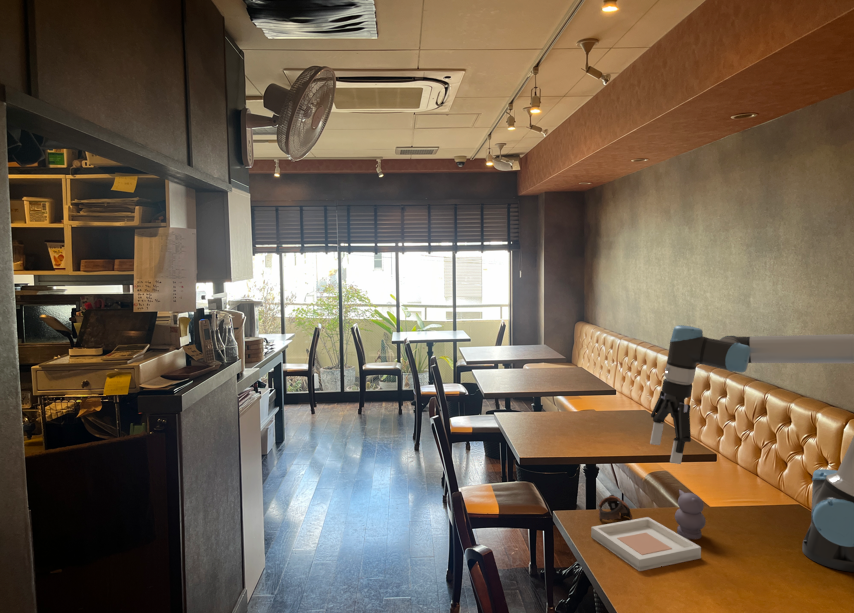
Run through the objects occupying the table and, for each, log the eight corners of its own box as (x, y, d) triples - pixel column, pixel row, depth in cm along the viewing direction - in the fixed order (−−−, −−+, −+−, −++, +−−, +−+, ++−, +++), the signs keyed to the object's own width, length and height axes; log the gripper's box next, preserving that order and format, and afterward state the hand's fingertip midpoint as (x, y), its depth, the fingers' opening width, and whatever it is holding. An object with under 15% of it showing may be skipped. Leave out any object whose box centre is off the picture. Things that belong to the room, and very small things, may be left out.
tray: (700, 558, 150) (701, 547, 150) (639, 571, 144) (639, 559, 143) (647, 526, 169) (648, 517, 169) (591, 537, 162) (591, 526, 162)
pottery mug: (638, 529, 169) (628, 507, 167) (609, 540, 171) (598, 519, 169) (627, 503, 180) (617, 483, 178) (600, 513, 182) (589, 494, 180)
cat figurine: (711, 539, 161) (713, 498, 160) (687, 542, 159) (688, 500, 158) (691, 526, 169) (692, 487, 169) (668, 529, 167) (669, 489, 167)
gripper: (647, 368, 170) (635, 435, 173) (685, 392, 145) (670, 470, 148) (671, 371, 170) (659, 438, 173) (714, 395, 145) (698, 473, 148)
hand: (664, 453), depth 161 cm, fingers open, 13 cm apart
